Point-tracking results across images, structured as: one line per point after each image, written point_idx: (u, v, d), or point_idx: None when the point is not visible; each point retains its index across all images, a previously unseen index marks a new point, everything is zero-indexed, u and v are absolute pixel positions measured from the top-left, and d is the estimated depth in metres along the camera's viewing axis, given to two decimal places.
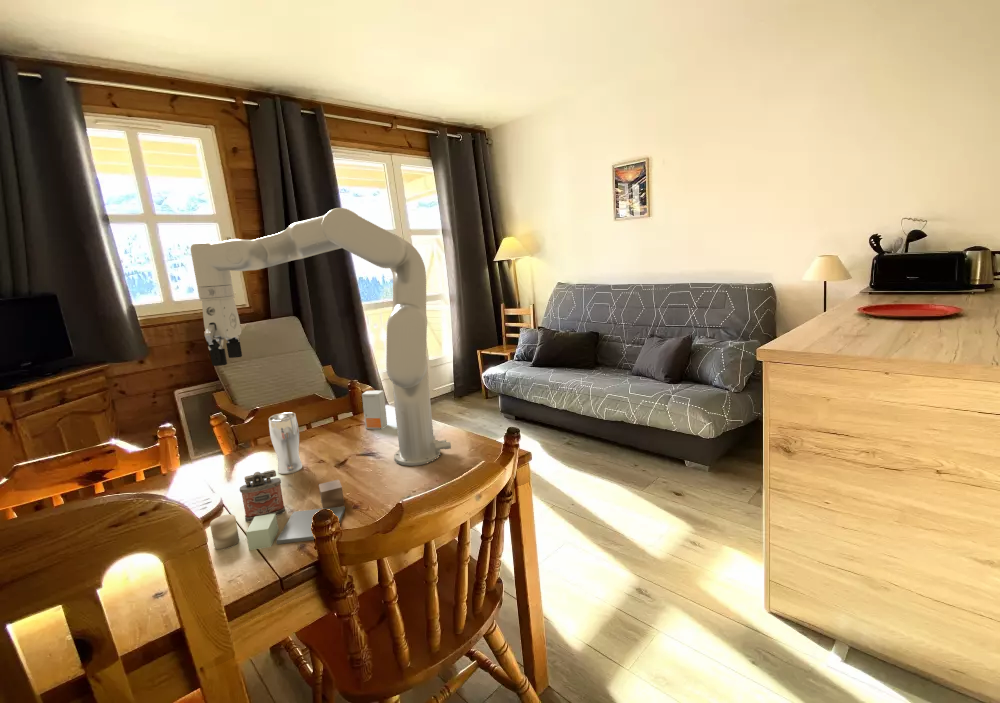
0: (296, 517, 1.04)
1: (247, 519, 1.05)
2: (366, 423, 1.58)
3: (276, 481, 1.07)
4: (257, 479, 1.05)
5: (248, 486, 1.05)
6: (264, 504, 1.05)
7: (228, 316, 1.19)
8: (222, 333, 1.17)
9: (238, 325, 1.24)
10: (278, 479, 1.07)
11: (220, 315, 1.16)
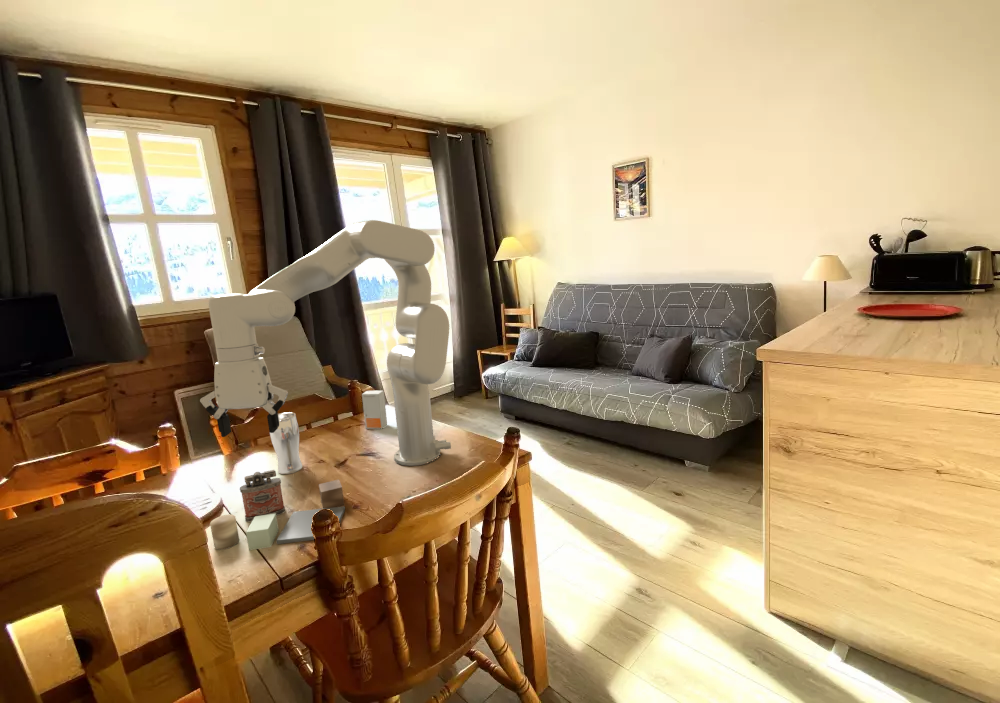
0: (296, 517, 1.04)
1: (247, 519, 1.05)
2: (366, 423, 1.58)
3: (276, 481, 1.07)
4: (257, 479, 1.05)
5: (248, 486, 1.05)
6: (264, 504, 1.05)
7: None
8: (272, 393, 1.04)
9: None
10: (278, 479, 1.07)
11: (268, 373, 1.03)
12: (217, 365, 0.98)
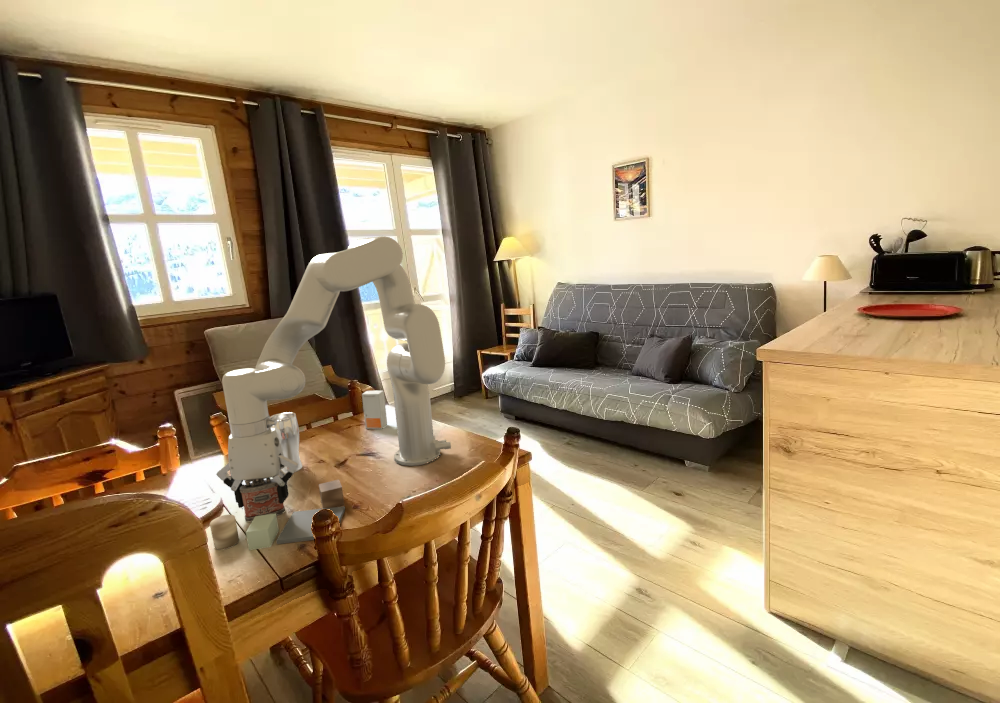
0: (296, 517, 1.04)
1: (247, 519, 1.05)
2: (366, 423, 1.58)
3: None
4: (257, 479, 1.05)
5: (248, 486, 1.05)
6: (264, 504, 1.05)
7: None
8: None
9: None
10: None
11: (280, 443, 1.07)
12: (231, 439, 1.01)
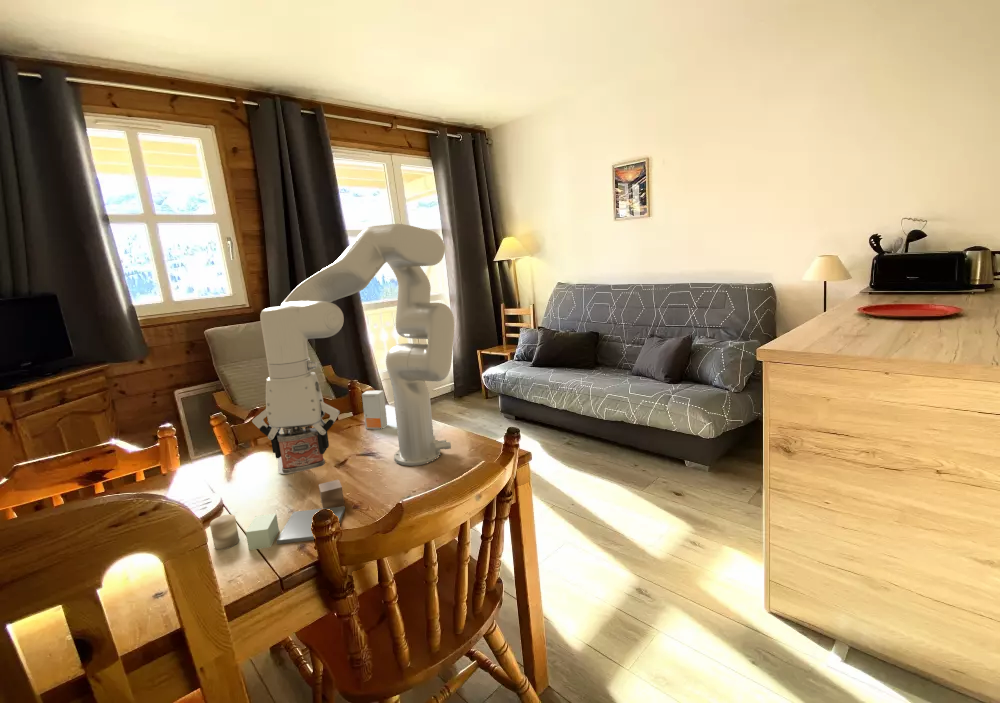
0: (296, 517, 1.04)
1: (285, 471, 0.97)
2: (366, 423, 1.58)
3: (316, 430, 0.98)
4: (296, 427, 0.96)
5: (286, 434, 0.96)
6: (303, 455, 0.97)
7: None
8: None
9: None
10: None
11: (320, 389, 0.98)
12: (269, 381, 0.93)
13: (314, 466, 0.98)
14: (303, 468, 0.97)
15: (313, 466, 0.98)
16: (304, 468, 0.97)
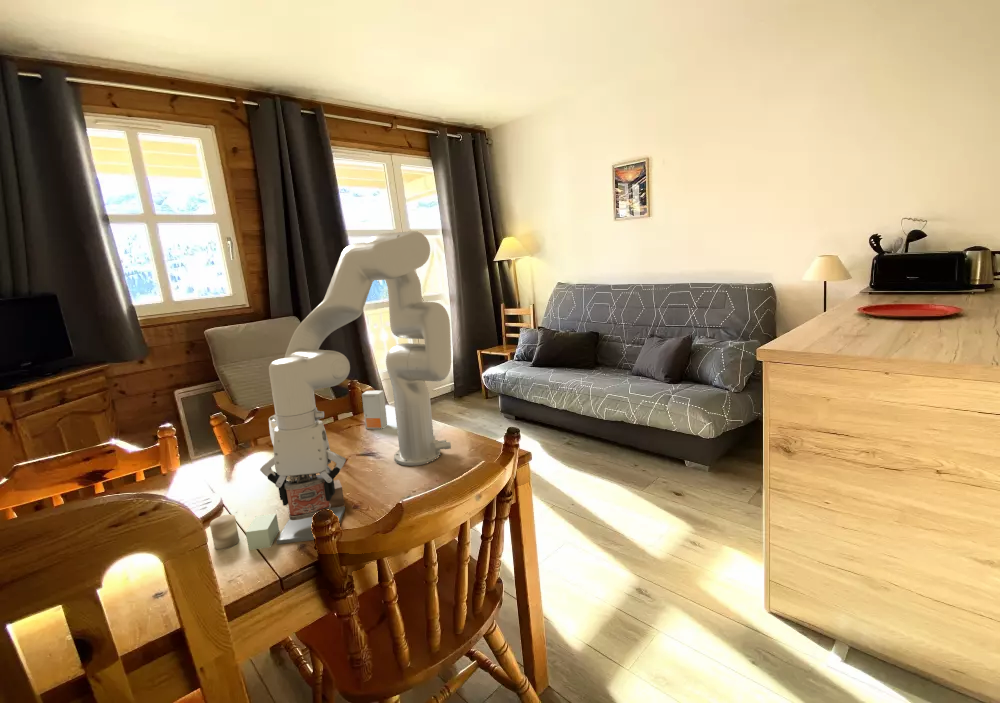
0: None
1: (292, 518, 0.98)
2: (366, 423, 1.58)
3: (322, 477, 1.00)
4: (303, 475, 0.98)
5: (293, 482, 0.98)
6: (310, 502, 0.99)
7: None
8: None
9: None
10: None
11: None
12: (277, 432, 0.95)
13: None
14: (310, 514, 0.99)
15: None
16: (311, 515, 0.99)
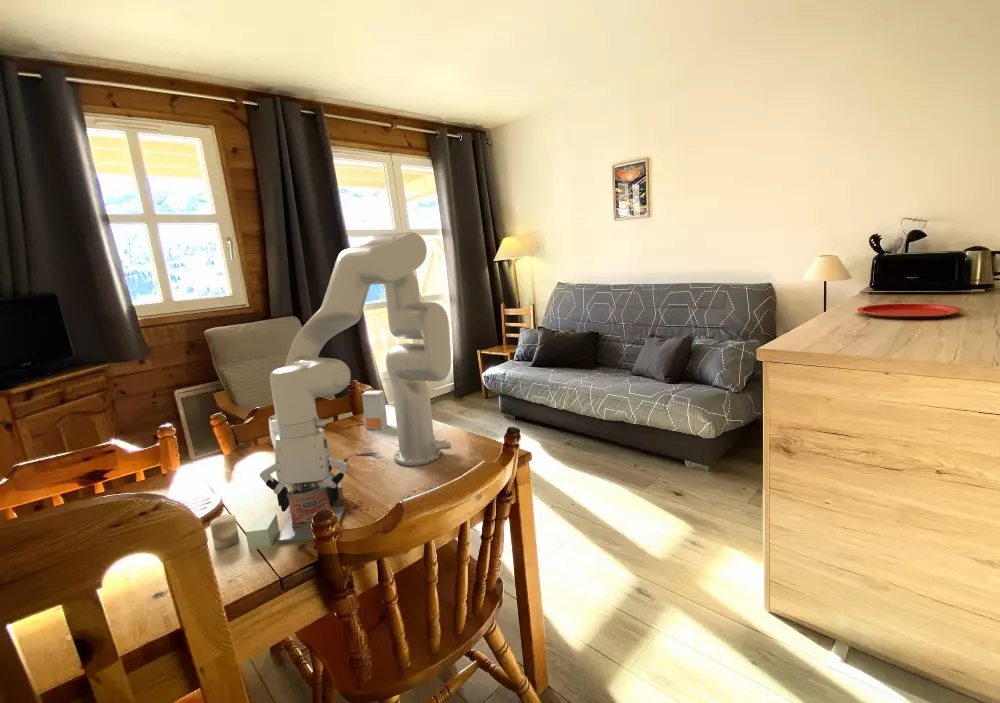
0: None
1: (294, 526, 0.99)
2: (366, 423, 1.58)
3: (324, 486, 1.01)
4: (305, 484, 0.99)
5: (295, 492, 0.99)
6: (312, 511, 1.00)
7: None
8: None
9: None
10: (326, 484, 1.02)
11: (328, 445, 1.01)
12: (278, 441, 0.95)
13: None
14: None
15: None
16: None
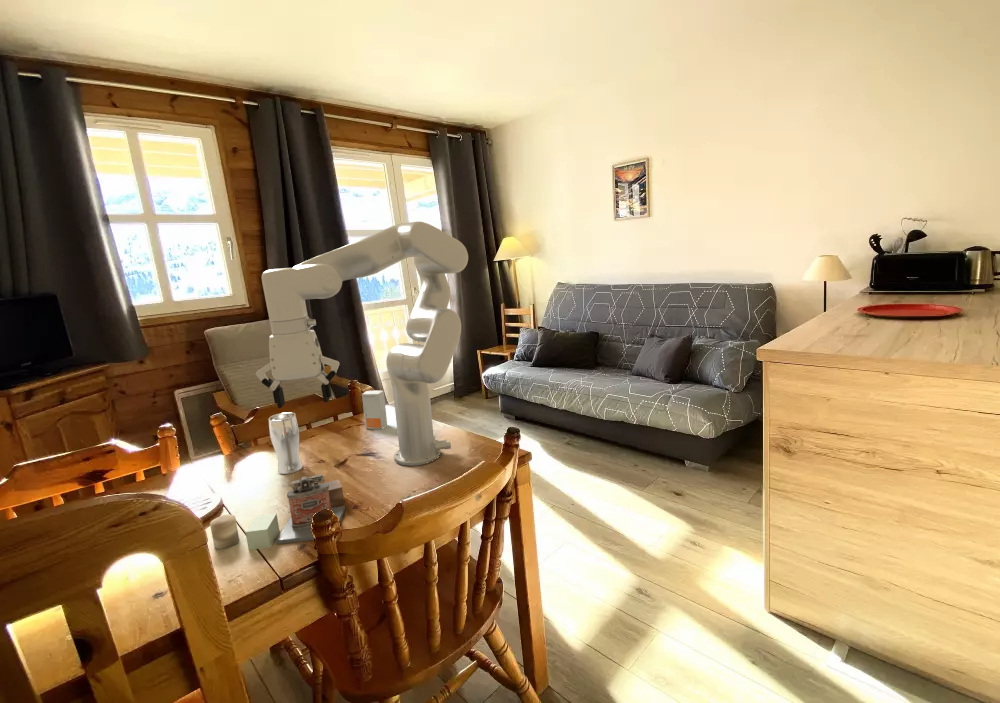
0: None
1: (294, 526, 0.99)
2: (366, 423, 1.58)
3: (324, 486, 1.01)
4: (305, 484, 0.99)
5: (295, 492, 0.99)
6: (312, 511, 1.00)
7: None
8: (323, 364, 1.08)
9: None
10: (326, 484, 1.02)
11: (319, 345, 1.07)
12: (272, 338, 1.01)
13: None
14: None
15: None
16: None
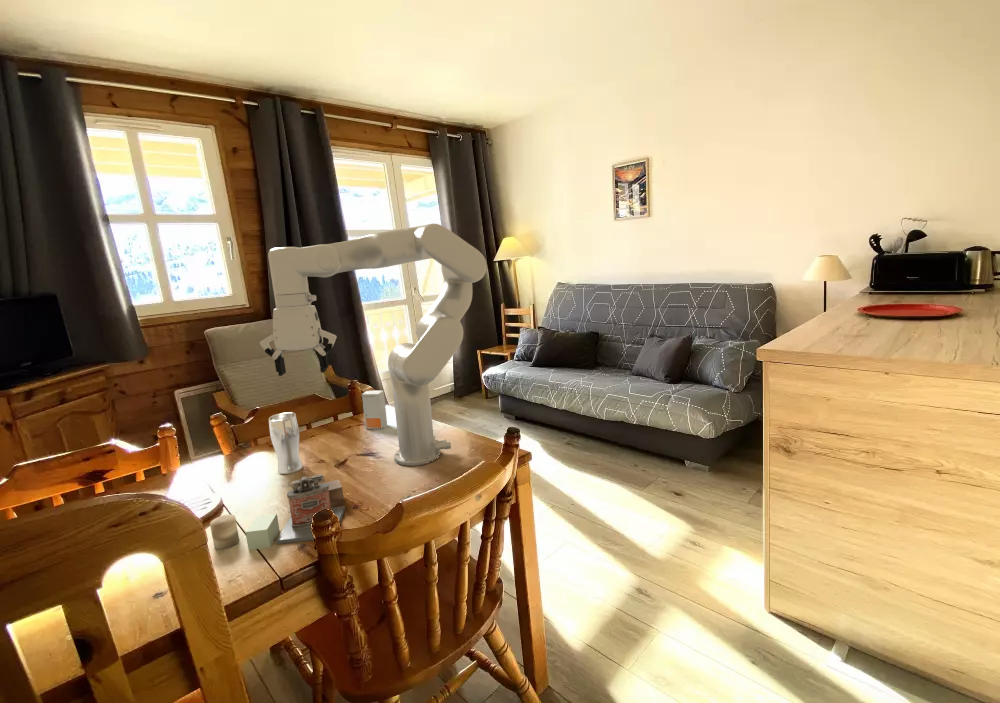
0: None
1: (294, 526, 0.99)
2: (366, 423, 1.58)
3: (324, 486, 1.01)
4: (305, 484, 0.99)
5: (295, 492, 0.99)
6: (312, 511, 1.00)
7: None
8: (322, 338, 1.17)
9: None
10: (326, 484, 1.02)
11: None
12: (276, 310, 1.11)
13: None
14: None
15: None
16: None
